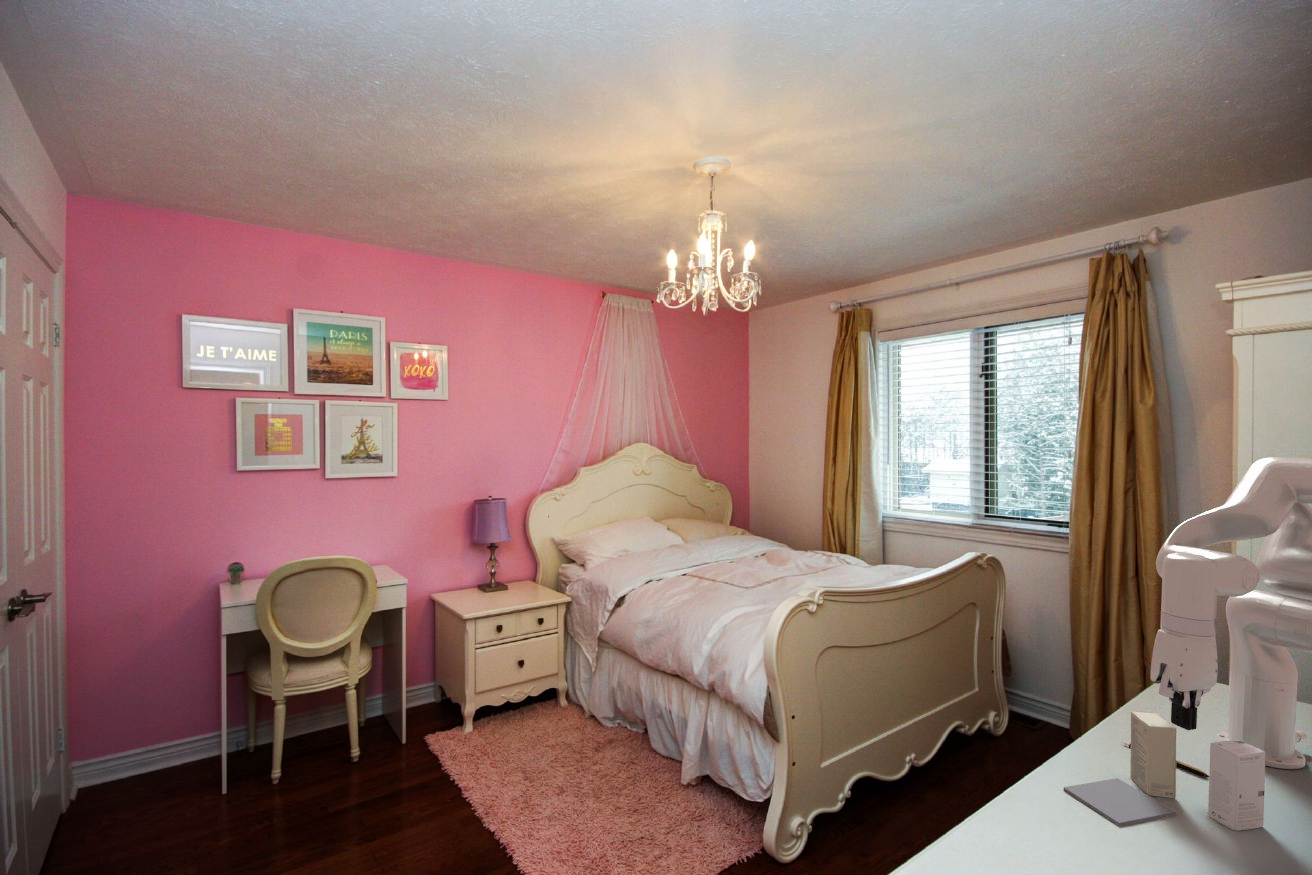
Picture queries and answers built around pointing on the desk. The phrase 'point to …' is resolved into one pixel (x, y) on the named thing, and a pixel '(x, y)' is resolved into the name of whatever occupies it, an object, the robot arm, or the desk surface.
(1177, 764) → the fountain pen
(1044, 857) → the desk surface
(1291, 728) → the robot arm
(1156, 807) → the mat
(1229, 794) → the skincare box
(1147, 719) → the skincare box
